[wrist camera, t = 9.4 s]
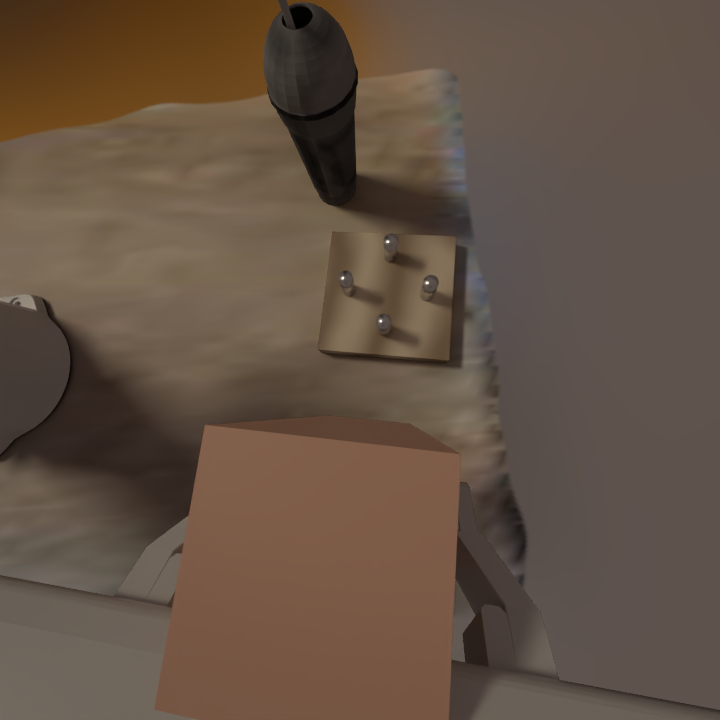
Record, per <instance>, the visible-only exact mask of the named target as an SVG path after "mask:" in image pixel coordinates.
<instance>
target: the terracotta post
mask: <svg viewBox="0 0 720 720" xmlns="http://www.w3.org/2000/svg"><path fill="white" fill-rule="evenodd" d="M460 464H461V454H460V453H458V452H456V451H455V450H453V449H451V448H450V447H448V446H446V445H445V444H443V443H441V442H440V441H438V440H436V439H435V438H433V437H431V436H430V435H428V434H426V433H425V432H423V431H421V430H420V429H418V428H416V427H415V426H413V425H411V424H407V423H397V422H388V421H378V420H369V419H359V418H350V417H340V416H331V415H328V416H315V417H302V418H289V419H275V420H262V421H249V422H236V423H223V424H210V425H205V427H204V433H203V438H202V444H201V449H200V455H199V461H198V466H197V472H196V477H195V483H194V489H193V494H192V500H191V505H190V511H189V517H188V522H187V528H186V533H185V539H184V545H183V550H182V556H181V561H180V567H179V573H178V578H177V584H176V589H175V595H174V601H173V606H172V612H171V617H170V623H169V629H168V634H167V640H166V645H165V651H164V657H163V662H162V668H161V673H160V679H159V685H158V690H157V696H156V701H155V707H154V710H158V711H162V712H167V713H171V714H175V715H180V716H184V717H188V718H193V719H197V720H449V703H450V682H451V660H452V638H453V616H454V595H455V573H456V551H457V530H458V508H459V486H460Z"/></svg>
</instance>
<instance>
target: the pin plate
mask: <svg viewBox="0 0 720 720" xmlns="http://www.w3.org/2000/svg"><path fill="white" fill-rule="evenodd" d="M455 247H456V236H434V235H407V234H381V233H354V232H332V239H331V247H330V255H329V263H328V271H327V279H326V287H325V295H324V303H323V311H322V319H321V327H320V335H319V343H318V350H319V351H320V352H322V353H334V354H346V355H358V356H371V357H383V358H395V359H407V360H419V361H431V362H443V363H447V362H448V361H449V357H450V339H451V320H452V302H453V283H454V265H455Z"/></svg>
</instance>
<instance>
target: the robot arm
mask: <svg viewBox="0 0 720 720" xmlns="http://www.w3.org/2000/svg"><path fill="white" fill-rule="evenodd" d="M69 371H70V352H69V347H68V344H67V341H66V339H65V336H64V335H63V333H62V331H61V330H60V329H59V328H58V326H57V325H56V324H55V323H54V322H53V321H52V320H51V319H50V318H49V316H48V314H47V311H46V307H45V305H44V302H43V300H42V299H41V298H40V297H38V296H34V295H30V294H22V295H15V296H8V297H1V298H0V454H2V453H3V452H4V451H5V449H6V448H7V447H8V446H9V445H10V444H11V443H12V441H13V440H14V439H16V438H17V437H19V436H20V435H22V434H24V433H26V432H28V431H30V430H31V429H33V428H34V427H36V426H37V425H38V424H40V423H41V422H42V421H43V420H44V419H45V418H46V417H47V416H48V415H49V414H50V413H51V412H52V411H53V409H54V408H55V406H56V405H57V403H58V402H59V400H60V398H61V396H62V394H63V392H64V390H65V387H66V384H67V381H68V377H69ZM188 517H189V515H188V516H187V517H186V518H184V519H183V520H182V521H180V522H179V523H178V524H176V525H175V526H174V527H172V528H171V529H170V530H168V531H167V532H166V533H164V534H163V535H162V536H160V537H159V538H158V539H156V540H155V541H154V542H152V543H151V544H150V545H148V546H147V547H146V549H145V550H144V552H143V553H142V555H141V556H140V558H139V559H138V561H137V562H136V564H135V565H134V567H133V568H132V570H131V571H130V573H129V574H128V576H127V577H126V579H125V580H124V582H123V583H122V585H121V586H120V588H119V589H118V591H117V593H116V594H115V596H108V595H103V594H98V593H92V592H87V591H82V590H76V589H71V588H66V587H60V586H55V585H50V584H44V583H39V582H34V581H28V580H23V579H18V578H12V577H7V576H2V575H0V720H197V719H193V718H188V717H184V716H180V715H175V714H171V713H167V712H162V711H158V710H154V707H155V701H156V696H157V690H158V685H159V679H160V673H161V668H162V662H163V657H164V651H165V645H166V640H167V634H168V629H169V623H170V617H171V612H172V606H173V601H174V595H175V589H176V584H177V578H178V573H179V567H180V561H181V556H182V550H183V545H184V539H185V533H186V528H187V522H188ZM455 578H456V580H457V581H458V583H459V585H460V587H461V589H462V591H463V593H464V595H465V596H466V598H467V600H468V602H469V604H470V606H471V608H472V609H473V611H474V613H475V615H476V616H475V618H474V619H473V620H472V622H471V623H470V624H469V626H468V627H467V628H466V630H465V631H464V633H463V643H464V653H465V662H460V661H455V660H451V682H450V703H449V720H720V710H716V709H711V708H705V707H700V706H695V705H689V704H684V703H678V702H673V701H668V700H662V699H658V698H652V697H647V696H642V695H636V694H631V693H626V692H620V691H614V690H609V689H604V688H599V687H594V686H588V685H583V684H578V683H572V682H567V681H562V680H559V677H558V673H557V670H556V667H555V663H554V659H553V656H552V652H551V648H550V645H549V641H548V637H547V634H546V630H545V627H544V623H543V619H542V616H541V612H540V611H539V610H538V608H537V607H536V606H535V604H534V603H533V602H532V600H531V599H530V598H529V596H528V595H527V593H526V592H525V591H524V589H523V588H522V587H521V585H520V584H519V583H518V581H517V580H516V579H515V577H514V576H513V574H512V573H511V572H510V570H509V569H508V568H507V566H506V565H505V564H504V562H503V561H502V560H501V558H500V557H499V556H498V554H497V553H496V552H495V550H494V549H493V547H492V546H491V545H490V543H489V542H488V541H487V539H486V538H485V537H484V535H483V534H481V533H478V532H477V526H476V520H475V515H474V509H473V503H472V498H471V492H470V487H469V485H468V483H466V482H460V486H459V508H458V530H457V551H456V573H455Z"/></svg>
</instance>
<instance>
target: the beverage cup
mask: <svg viewBox="0 0 720 720" xmlns="http://www.w3.org/2000/svg"><path fill="white" fill-rule="evenodd" d="M278 2H279V5H280V8H281V12H280V13H279V14H278V15H277V16H276V17H275V19H274V20H273V22H272V24H271V26H270V28H269V31H268V33H267V36H266V40H265V47H264V60H263V61H264V74H265V79H266V83H267V91H268V95H269V98H270V101H271V104H272V105H273V106H274V107H275V109H276V110H277V113H278V114H279V116H280V118H281V119H282V121H283V123H284V124H285V126H286V127H287V128H288V130H289V132H290V134H291V137H292V139H293V141H294V143H295V145H296V148H297V150H298V152H299V154H300V156H301V158H302V161H303V163H304V165H305V167H306V169H307V172H308V174H309V176H310V178H311V180H312V183H313V185H314V187H315V189H316V190H317V192H318V193H319V196H320V198H321V199H322V200H323V201H324V202H325V203H327V204H330V205H341V204H344V203H346V202H347V201H349V200H350V199H351V198H352V197H353V195H354V193H355V190H356V152H355V121H354V109H355V103H356V86H357V84H358V71H357V68H356V65H355V63H354V57H353V53H352V50H351V47H350V45H349V42H348V40H347V38H346V35H345V33H344V31H343V29H342V28H341V26H340V25H339V23H338V22H337V21H336V20H335V19H334V18H333V17H332V16H331V15H330V14H329V13H328V12H327V11H326V10H324V9H323V8H321V7H319V6H317V5H315V4H312V3H305V2H300V3H294V4H292V5H289V6H288V4H287V1H286V0H278Z"/></svg>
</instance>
